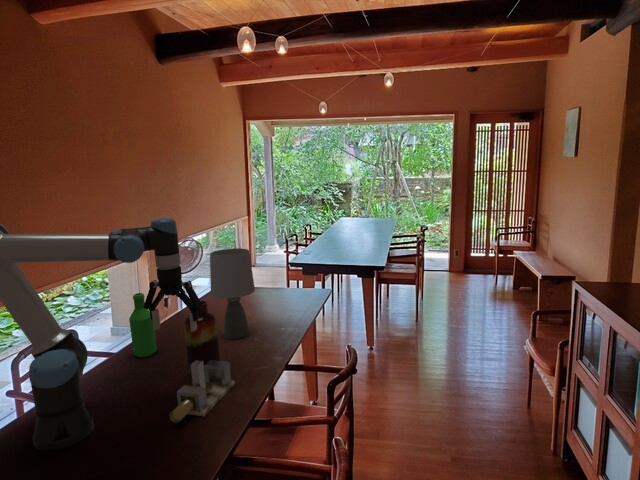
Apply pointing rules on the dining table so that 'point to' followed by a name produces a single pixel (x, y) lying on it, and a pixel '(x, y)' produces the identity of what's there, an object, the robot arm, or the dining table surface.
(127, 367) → the dining table surface
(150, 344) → the bottle
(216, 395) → the plank
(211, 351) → the vase
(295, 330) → the dining table surface
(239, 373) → the dining table surface
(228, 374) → the socket
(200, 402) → the sleeve
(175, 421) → the slide bolt
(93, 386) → the dining table surface
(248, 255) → the lamp
